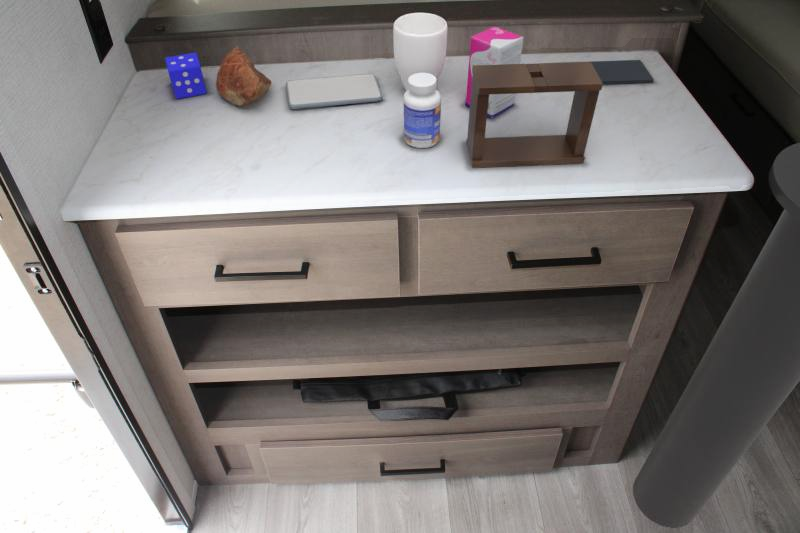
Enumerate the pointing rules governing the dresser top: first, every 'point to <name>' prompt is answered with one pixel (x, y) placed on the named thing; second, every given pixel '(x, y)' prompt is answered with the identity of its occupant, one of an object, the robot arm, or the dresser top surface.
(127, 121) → the dresser top surface
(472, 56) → the supplement box
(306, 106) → the smartphone
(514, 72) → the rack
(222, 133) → the dresser top surface
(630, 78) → the mat
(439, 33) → the mug
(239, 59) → the reddish-brown rock
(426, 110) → the pill bottle
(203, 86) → the die
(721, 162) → the dresser top surface
